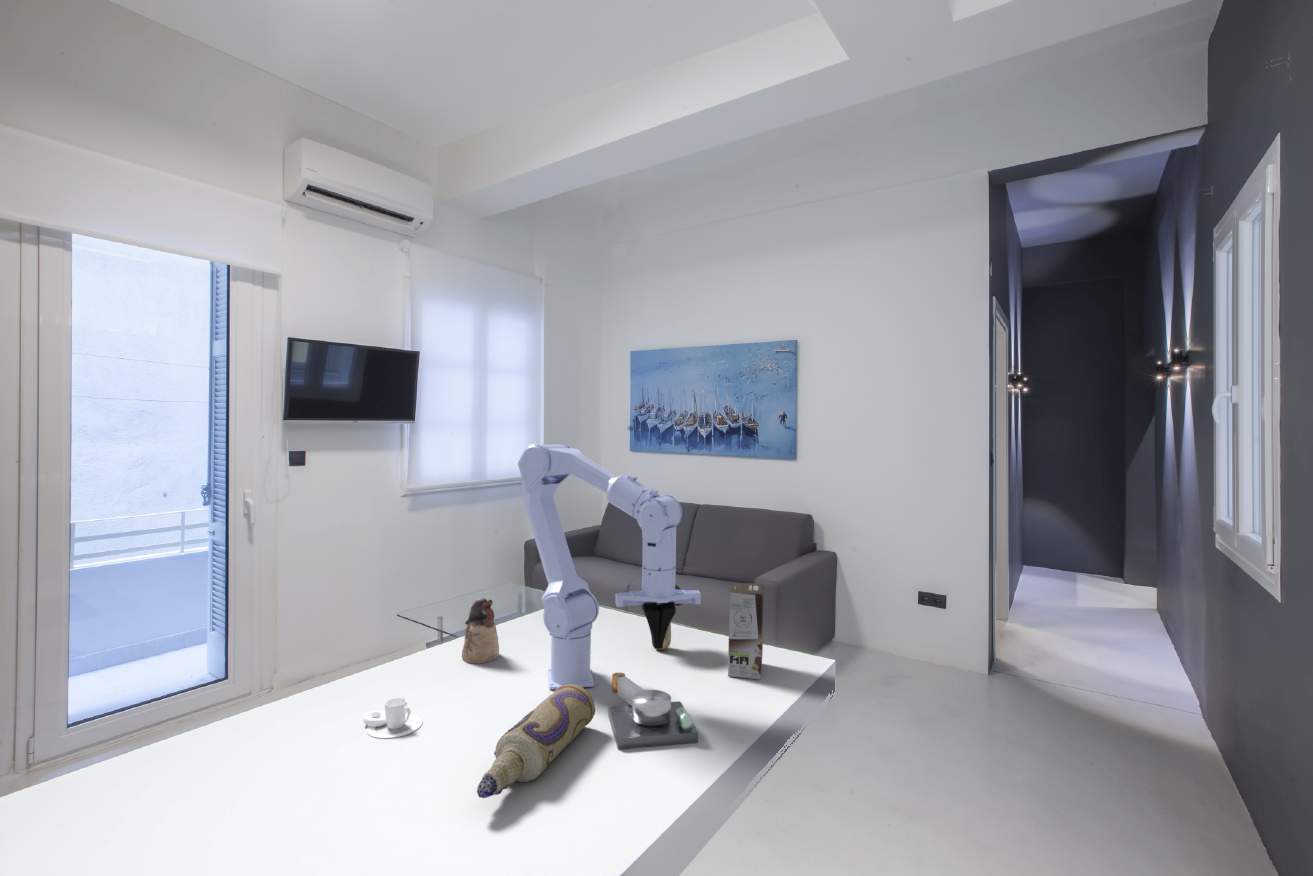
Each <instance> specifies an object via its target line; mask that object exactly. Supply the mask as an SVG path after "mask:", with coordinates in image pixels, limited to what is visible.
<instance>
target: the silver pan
mask: <svg viewBox="0 0 1313 876" xmlns="http://www.w3.org/2000/svg"><path fill="white" fill-rule="evenodd" d="M611 678H612V679H611V681H612V684H611V693H613V694H614V695H615V694H616V695H618V696H619V697H620V698H621V699H623V700H624V701H625V702H626V703H628V705H632V719H633V720H634V721H635V722H637V723H639V724H642V725H647V726H657V725H662V724H665V723H667V722H668V721H669V720H670V718H671V702H672V696H671V695H670V694H669V693H668V692H666V691H664V690H659V689H644V688H643V687H641V686H640V685H638V684H637V683H636V682H634V681H633V680H631V679H630V678H628V677H627V676H626V674H625V673H624V672H614V673H612V676H611Z"/></svg>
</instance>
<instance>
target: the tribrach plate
mask: <svg viewBox="0 0 1313 876" xmlns="http://www.w3.org/2000/svg"><path fill="white" fill-rule="evenodd" d="M607 717H608V721H609V723H610V727H611V730H612V734H613V738H614V741H615V744H616V748H617V750H623V749H635V748H647V747H648V748H649V747H657V746H658V747H659V746H660V747H661V746H671V745H679V744H680V745H682V744H694V743H696V744H697V743H698V742H699V732H698V728H696V726H695V723H694V722H693V720H692V718H691V716H690V715H689V713H688V711H687V709H685V706H684V705H683V703H682V702H681V701H680V700H679V701H671V718H670V720H669V721H668V722H667V723H665V724H662V725H657V726H647V725H642V724H639V723H637V722H635V721H634V720H633V719H632V705H630V704H624V705H623V704H622V705H610V706H608V708H607Z"/></svg>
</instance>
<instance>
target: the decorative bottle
mask: <svg viewBox="0 0 1313 876" xmlns="http://www.w3.org/2000/svg"><path fill="white" fill-rule="evenodd" d="M595 714H596V705H595V699H594V698H593V696H592V694H591V693H590V691H588V690H587V689H585V687H581V686H578V685H574V684H565V685H562V686H560V687H558V688H557V689H554V691H553V693H552V694H550V695H549V696H547V697H546V698H545V699H543V701H541V702H540V703H539V704H538V705H537V706H536V707H535V708H533V709H532V711H531V710H530V711H529V713H528V714H526V715H525V716H523V718H522V719H520V720H519V721H518V722H517V723H516V724H515V725H513V727H510V729H508V730H507V731H506V732H505V733H504V734H503V735H502V736H501V737H500V738H499V740H498V741H497V743H496V746H495V750H494V751H493V752H494V753H493V755H494V756H495V760H494V761H493V762H492V765H491V767H490V768H489V769H488V770H487V771H486V772H485V773H484V774H483V775H482V778H481V780H480V782H479V783H478V786H477V789H476V793H477V796H478V798H482V799H487V798H489V797H493V796H498V795H501V794H502V792H503V790H507V789H508V787H509V786H510V785H512V784H514V783H515V782H518V783H528V782H531V781H534V780H535V779H537V778H539V776H540V775H541V774H542V773H543V772H544V771H545V770H546V769H547V767H549V765H551V763H552V762H553V761H554V760H555V759H556V758H557V756H559V755H560V753H561V752H562V751H563V750H564V749H565V748H566V747H567V746H568V745H570V743H571V742H572V741H573V740H574V739H575V738H576V737H577V736H578V734H579V733H580V732H581V731H582V730H583V729H585V728H586V726H588V725H589V724H590V723H591V722H592V721H593V719H594V716H595Z"/></svg>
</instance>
